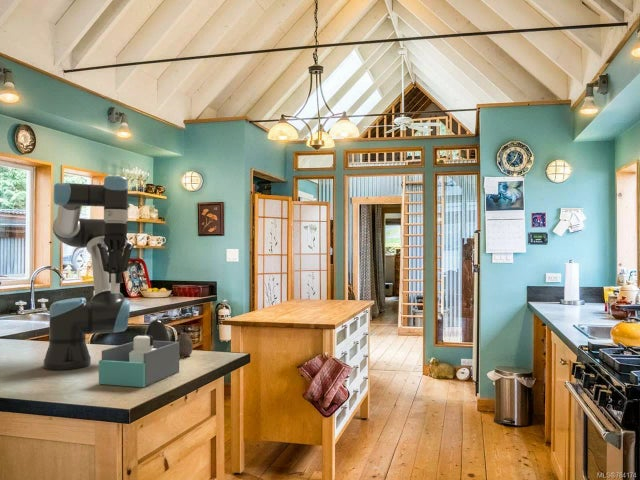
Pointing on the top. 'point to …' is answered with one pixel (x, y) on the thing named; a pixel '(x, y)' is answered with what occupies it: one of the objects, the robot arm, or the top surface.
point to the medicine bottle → (141, 348)
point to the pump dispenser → (158, 330)
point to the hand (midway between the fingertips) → (115, 293)
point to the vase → (184, 345)
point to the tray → (122, 373)
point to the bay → (150, 359)
